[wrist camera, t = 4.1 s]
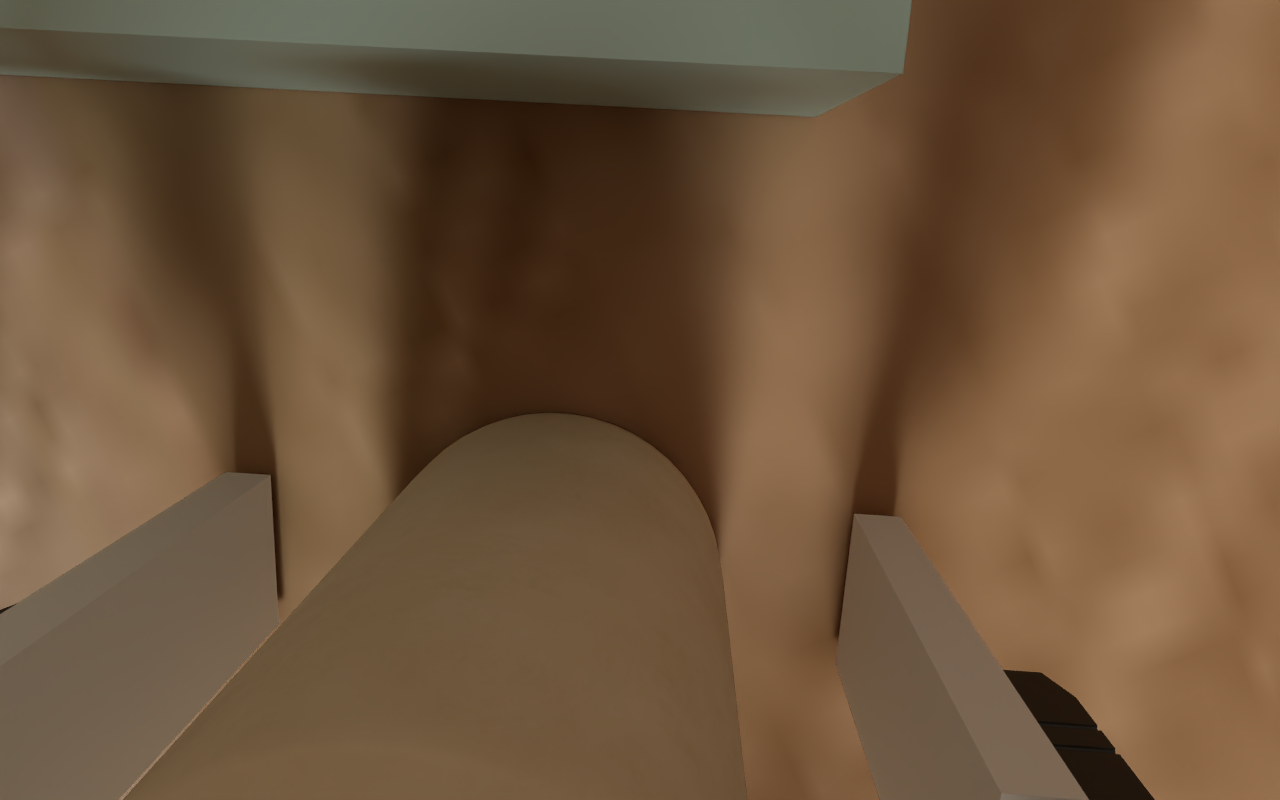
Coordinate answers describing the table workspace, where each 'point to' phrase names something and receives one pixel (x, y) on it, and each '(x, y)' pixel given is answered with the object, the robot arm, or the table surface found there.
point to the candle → (494, 643)
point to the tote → (479, 48)
